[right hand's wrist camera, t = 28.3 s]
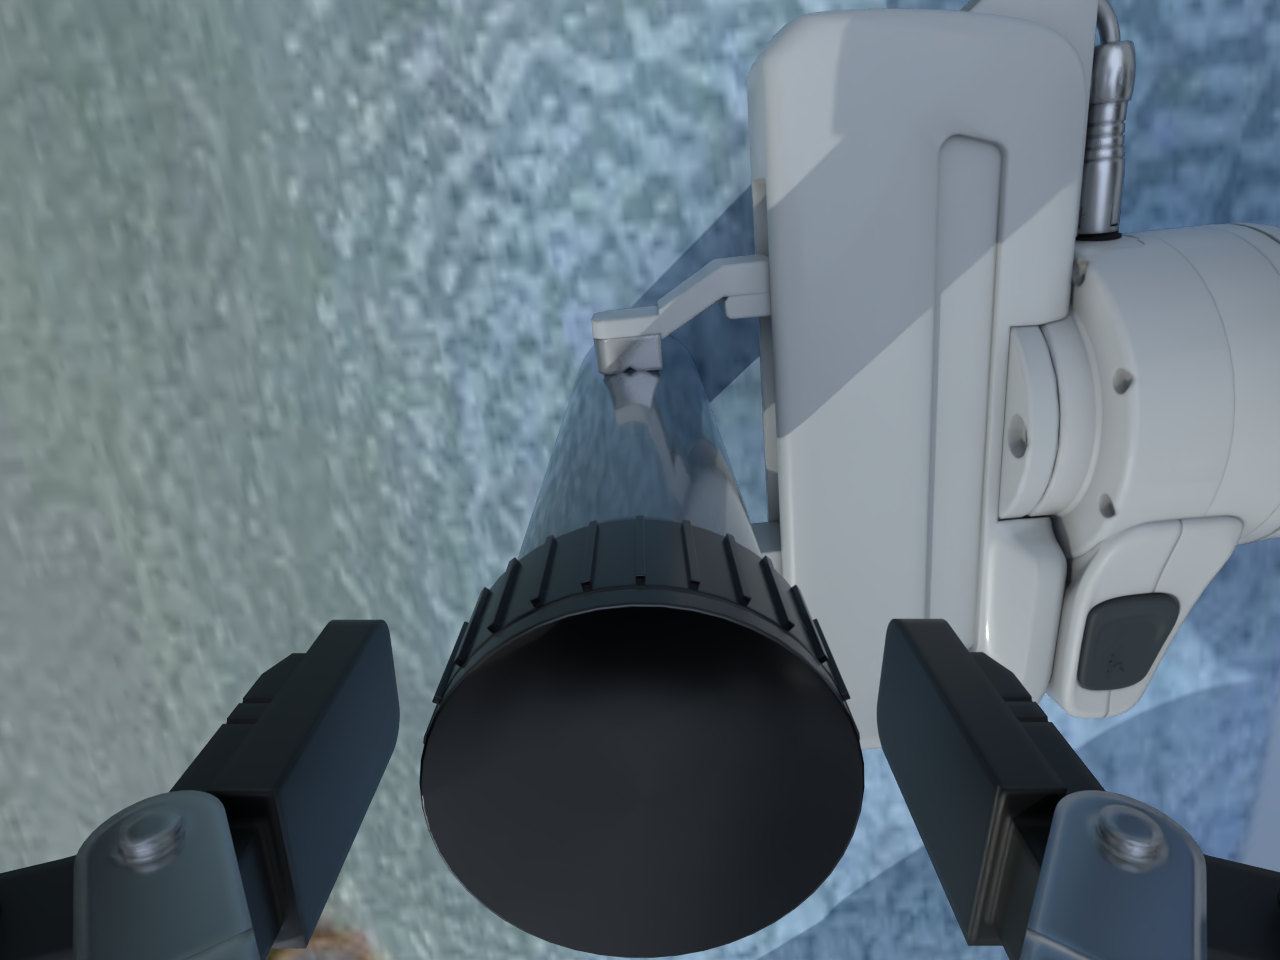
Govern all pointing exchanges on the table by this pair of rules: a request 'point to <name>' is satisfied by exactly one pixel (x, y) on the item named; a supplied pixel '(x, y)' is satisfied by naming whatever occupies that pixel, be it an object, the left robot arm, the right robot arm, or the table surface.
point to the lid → (641, 744)
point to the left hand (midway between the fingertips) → (607, 446)
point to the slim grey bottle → (639, 455)
